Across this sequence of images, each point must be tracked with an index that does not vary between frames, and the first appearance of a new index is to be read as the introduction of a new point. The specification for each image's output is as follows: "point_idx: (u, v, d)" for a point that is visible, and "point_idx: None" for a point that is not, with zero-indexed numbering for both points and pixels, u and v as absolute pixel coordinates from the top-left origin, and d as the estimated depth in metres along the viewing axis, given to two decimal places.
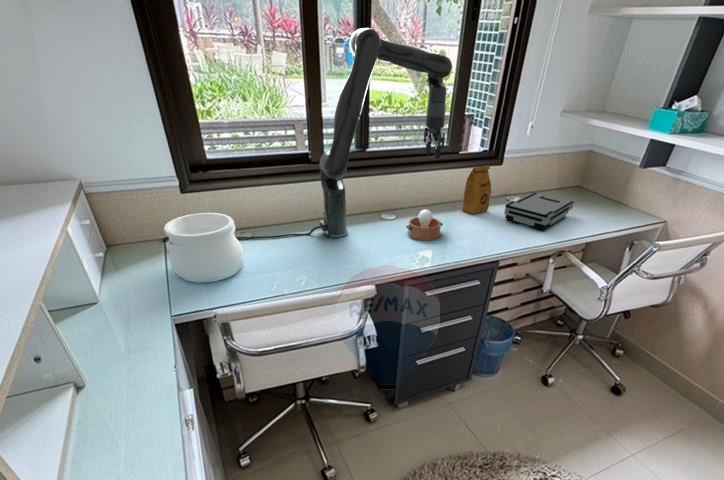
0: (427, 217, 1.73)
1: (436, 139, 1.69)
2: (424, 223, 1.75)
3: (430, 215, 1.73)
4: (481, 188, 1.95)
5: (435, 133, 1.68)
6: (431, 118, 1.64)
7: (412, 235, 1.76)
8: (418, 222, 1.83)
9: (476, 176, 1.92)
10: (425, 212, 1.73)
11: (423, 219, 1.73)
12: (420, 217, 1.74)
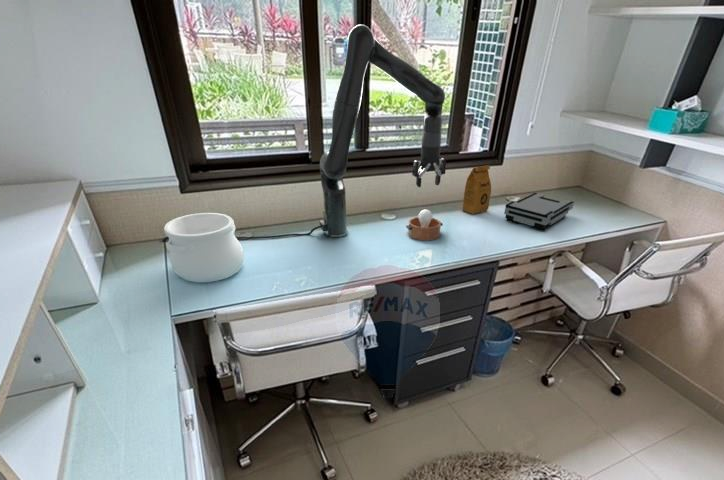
0: (427, 217, 1.73)
1: (423, 168, 1.65)
2: (424, 223, 1.75)
3: (430, 215, 1.73)
4: (481, 188, 1.95)
5: None
6: None
7: (412, 235, 1.76)
8: (418, 222, 1.83)
9: (476, 176, 1.92)
10: (425, 212, 1.73)
11: (423, 219, 1.73)
12: (420, 217, 1.74)
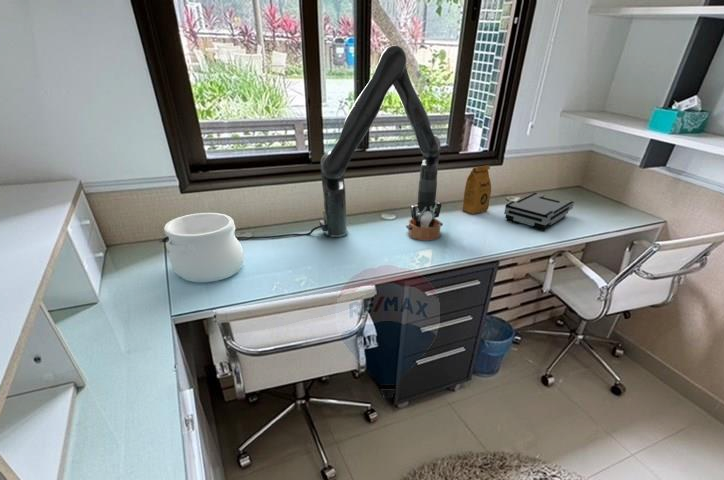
0: (427, 217, 1.73)
1: None
2: (424, 223, 1.75)
3: (430, 215, 1.73)
4: (481, 188, 1.95)
5: None
6: None
7: (412, 235, 1.76)
8: None
9: (476, 176, 1.92)
10: (425, 212, 1.73)
11: (423, 219, 1.73)
12: None
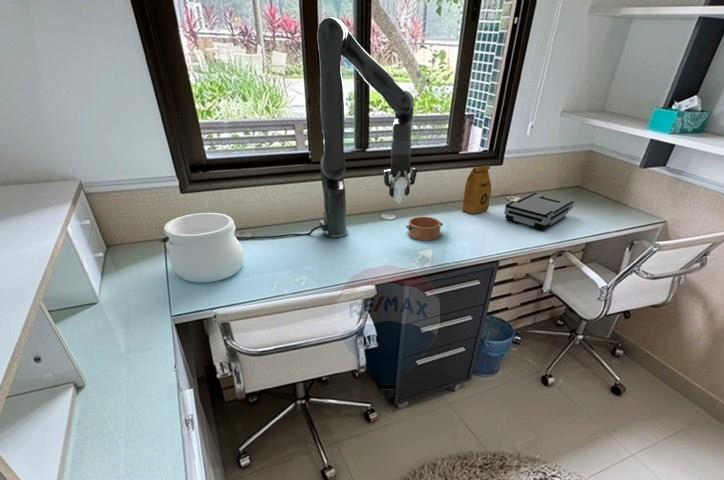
0: (401, 183, 1.59)
1: (394, 176, 1.60)
2: (398, 190, 1.61)
3: (405, 181, 1.60)
4: (481, 188, 1.95)
5: None
6: None
7: (412, 235, 1.76)
8: (418, 222, 1.83)
9: (476, 176, 1.92)
10: (399, 178, 1.59)
11: (397, 185, 1.60)
12: None
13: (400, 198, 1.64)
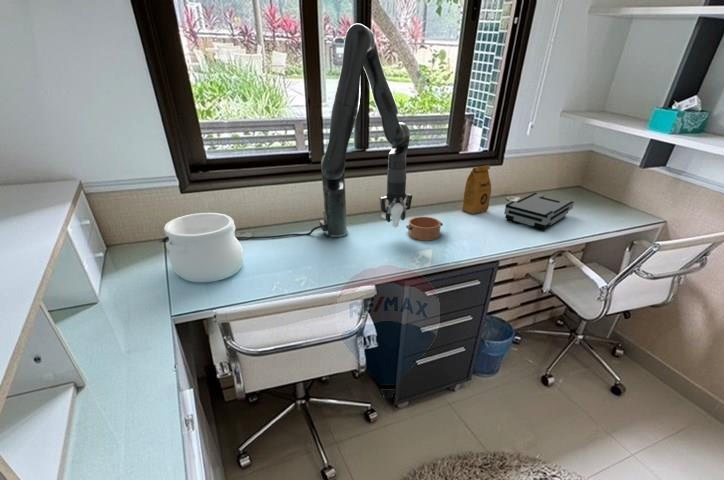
0: (397, 209, 1.65)
1: (390, 203, 1.65)
2: (394, 215, 1.67)
3: (400, 207, 1.65)
4: (481, 188, 1.95)
5: None
6: None
7: (412, 235, 1.76)
8: (418, 222, 1.83)
9: (476, 176, 1.92)
10: (395, 204, 1.65)
11: (393, 211, 1.65)
12: None
13: (396, 223, 1.70)
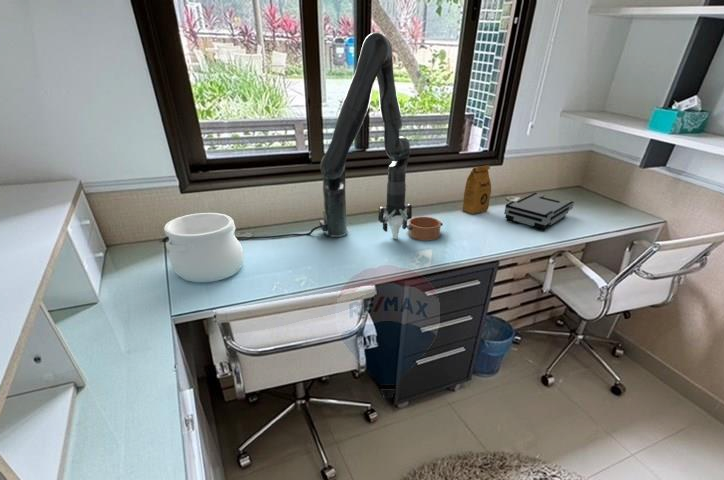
0: (397, 221, 1.68)
1: (388, 213, 1.68)
2: (394, 227, 1.70)
3: (400, 219, 1.68)
4: (481, 188, 1.95)
5: None
6: None
7: (412, 235, 1.76)
8: (418, 222, 1.83)
9: (476, 176, 1.92)
10: (395, 216, 1.68)
11: (393, 223, 1.68)
12: (390, 221, 1.69)
13: (396, 235, 1.73)
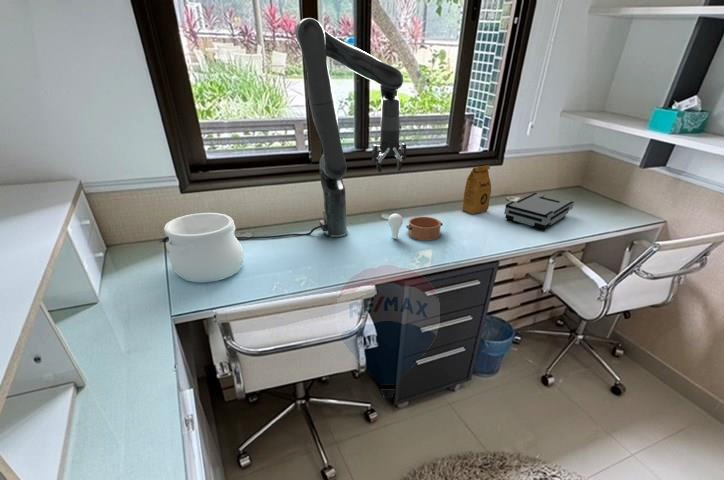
0: (397, 221, 1.68)
1: (382, 152, 1.64)
2: (394, 227, 1.70)
3: (400, 219, 1.68)
4: (481, 188, 1.95)
5: None
6: None
7: (412, 235, 1.76)
8: (418, 222, 1.83)
9: (476, 176, 1.92)
10: (395, 216, 1.68)
11: (393, 223, 1.68)
12: (390, 221, 1.69)
13: (396, 235, 1.73)
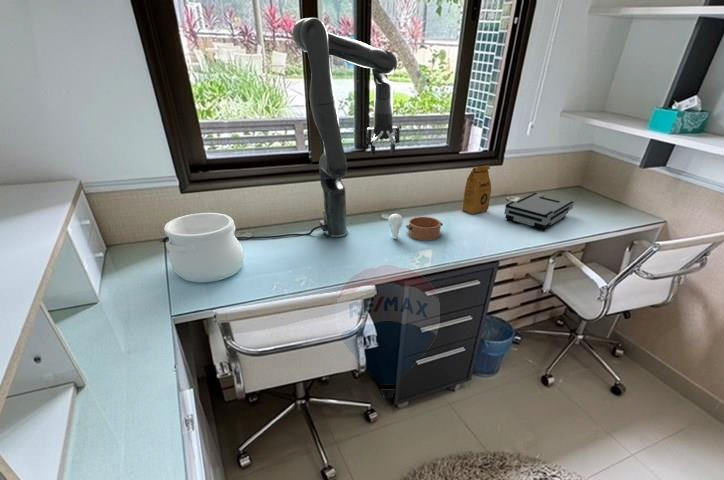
0: (397, 221, 1.68)
1: (376, 136, 1.68)
2: (394, 227, 1.70)
3: (400, 219, 1.68)
4: (481, 188, 1.95)
5: None
6: None
7: (412, 235, 1.76)
8: (418, 222, 1.83)
9: (476, 176, 1.92)
10: (395, 216, 1.68)
11: (393, 223, 1.68)
12: (390, 221, 1.69)
13: (396, 235, 1.73)
